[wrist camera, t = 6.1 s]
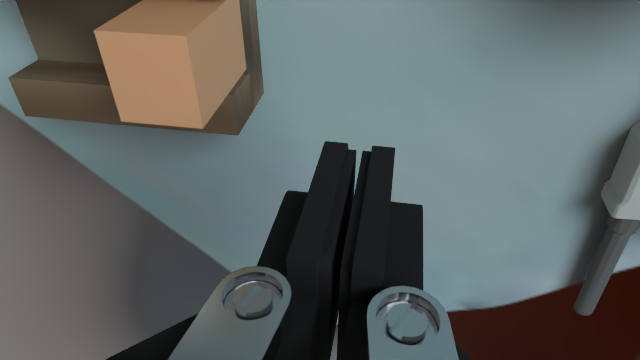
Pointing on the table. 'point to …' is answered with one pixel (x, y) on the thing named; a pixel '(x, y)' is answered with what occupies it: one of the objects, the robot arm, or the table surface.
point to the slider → (173, 59)
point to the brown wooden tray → (89, 71)
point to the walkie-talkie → (615, 221)
